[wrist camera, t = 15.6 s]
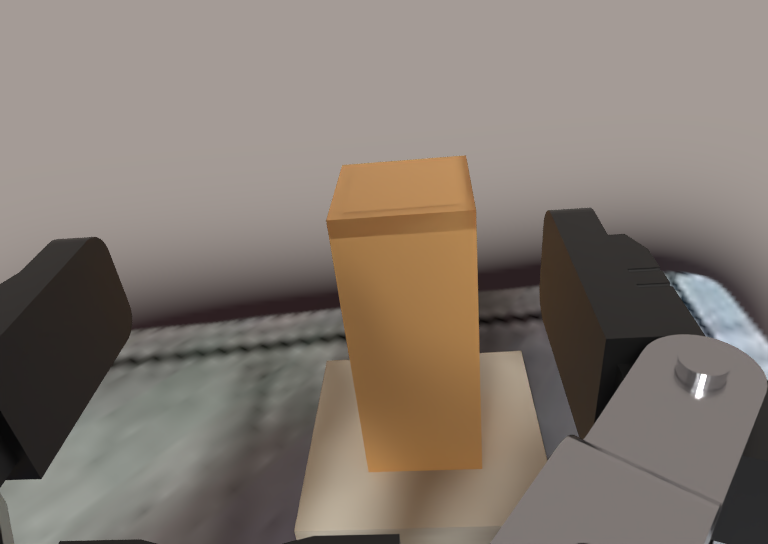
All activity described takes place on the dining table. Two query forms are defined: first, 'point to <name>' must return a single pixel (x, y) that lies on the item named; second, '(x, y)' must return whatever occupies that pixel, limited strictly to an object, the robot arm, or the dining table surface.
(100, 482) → the dining table surface
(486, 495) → the stub plate
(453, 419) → the orange tall block
